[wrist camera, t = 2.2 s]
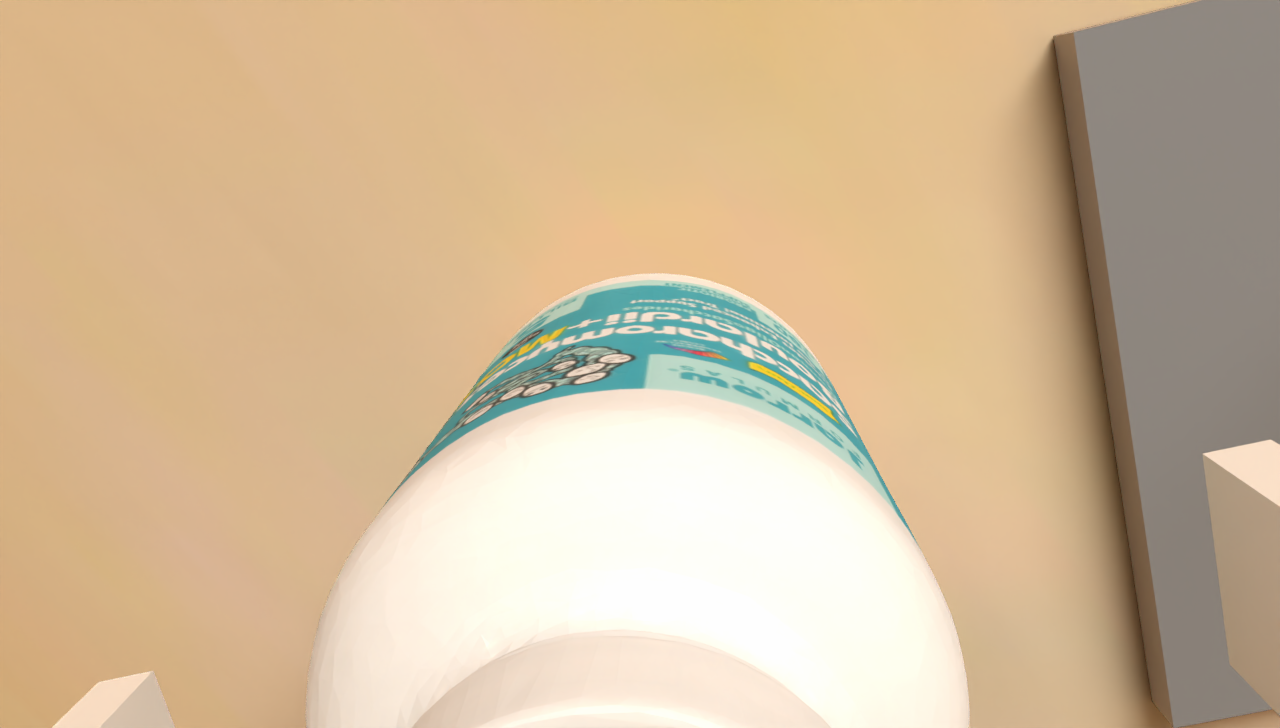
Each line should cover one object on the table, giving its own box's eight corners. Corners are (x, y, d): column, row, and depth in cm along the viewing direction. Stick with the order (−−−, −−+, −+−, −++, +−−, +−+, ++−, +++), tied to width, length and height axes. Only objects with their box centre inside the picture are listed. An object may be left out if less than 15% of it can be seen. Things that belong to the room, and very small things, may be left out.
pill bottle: (841, 260, 20) (1144, 532, 7) (836, 609, 22) (1073, 1330, 9) (459, 270, 21) (94, 550, 8) (483, 614, 23) (221, 1323, 9)
